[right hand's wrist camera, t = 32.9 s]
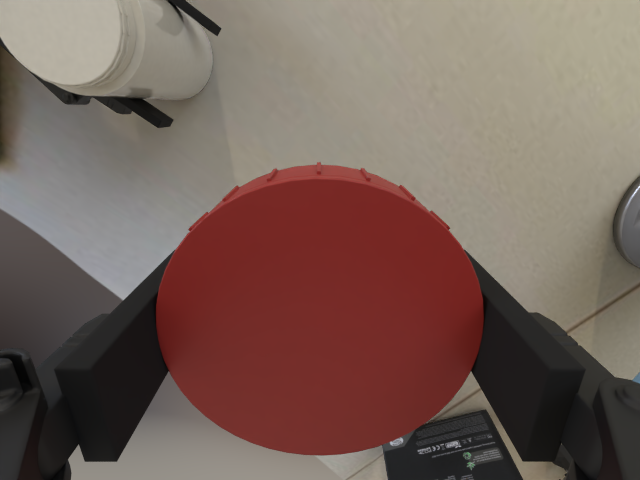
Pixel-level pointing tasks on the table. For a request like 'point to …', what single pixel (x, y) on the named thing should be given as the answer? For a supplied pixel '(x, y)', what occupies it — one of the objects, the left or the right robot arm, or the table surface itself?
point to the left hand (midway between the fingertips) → (189, 78)
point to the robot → (563, 459)
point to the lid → (319, 312)
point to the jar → (109, 46)
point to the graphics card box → (451, 451)
